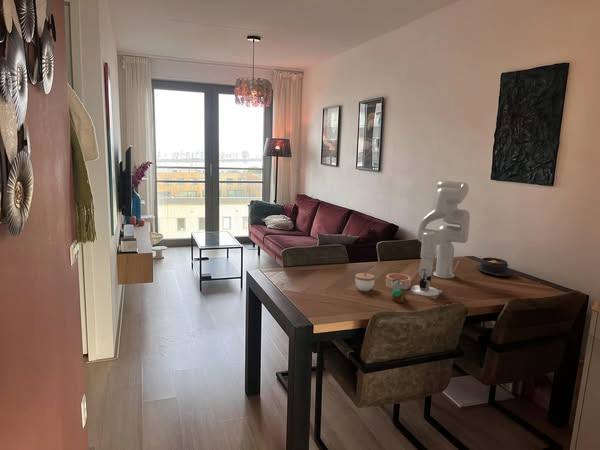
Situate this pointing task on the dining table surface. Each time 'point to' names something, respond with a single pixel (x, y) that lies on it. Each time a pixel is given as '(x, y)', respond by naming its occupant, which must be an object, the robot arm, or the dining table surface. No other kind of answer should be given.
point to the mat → (425, 296)
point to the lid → (425, 290)
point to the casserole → (494, 266)
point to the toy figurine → (398, 291)
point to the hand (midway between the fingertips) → (425, 285)
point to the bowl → (403, 278)
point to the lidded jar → (364, 281)
